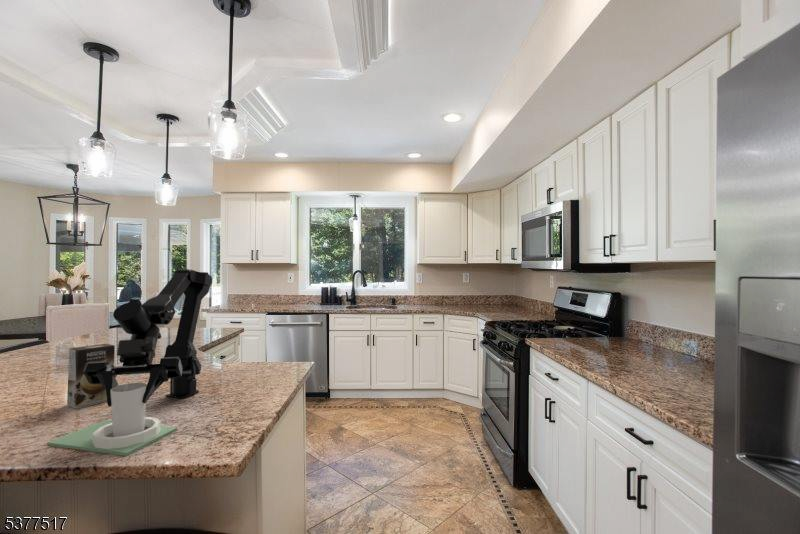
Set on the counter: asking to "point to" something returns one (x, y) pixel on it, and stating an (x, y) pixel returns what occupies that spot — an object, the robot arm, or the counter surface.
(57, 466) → the counter surface
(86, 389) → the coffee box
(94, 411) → the counter surface
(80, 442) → the practice green
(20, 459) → the counter surface
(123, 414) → the white coffee cup
